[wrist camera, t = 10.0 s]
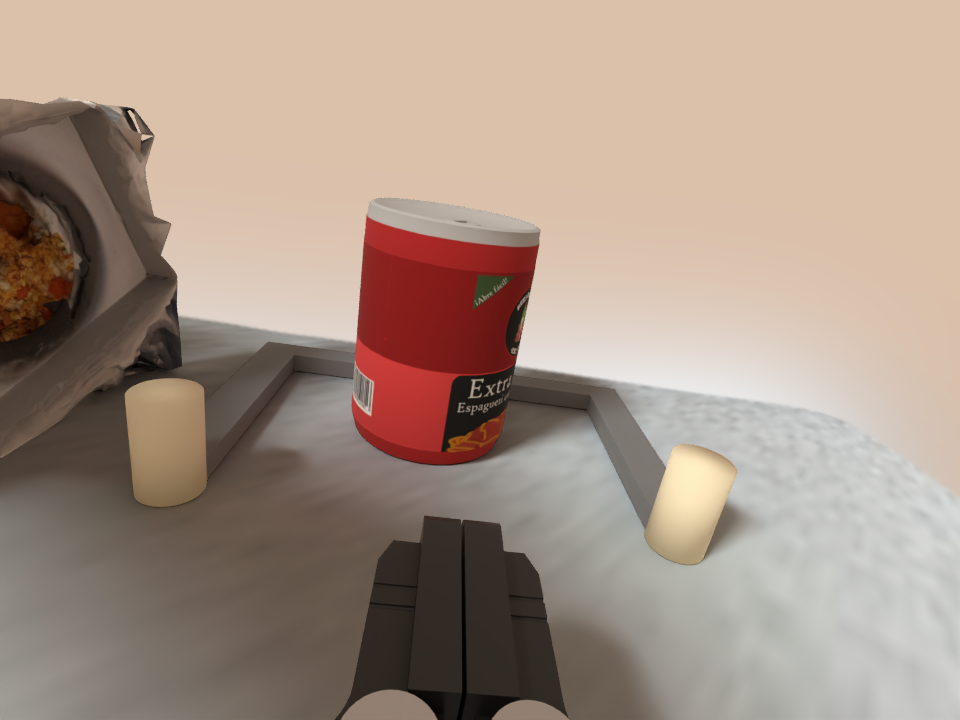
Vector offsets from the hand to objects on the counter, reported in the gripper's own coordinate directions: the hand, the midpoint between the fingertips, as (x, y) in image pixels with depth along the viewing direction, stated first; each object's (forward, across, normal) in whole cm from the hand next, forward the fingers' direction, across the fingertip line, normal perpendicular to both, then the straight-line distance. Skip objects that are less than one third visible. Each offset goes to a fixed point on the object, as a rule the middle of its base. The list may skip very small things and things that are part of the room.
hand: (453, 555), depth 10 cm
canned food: (+16, +1, +6) cm, 17 cm away
